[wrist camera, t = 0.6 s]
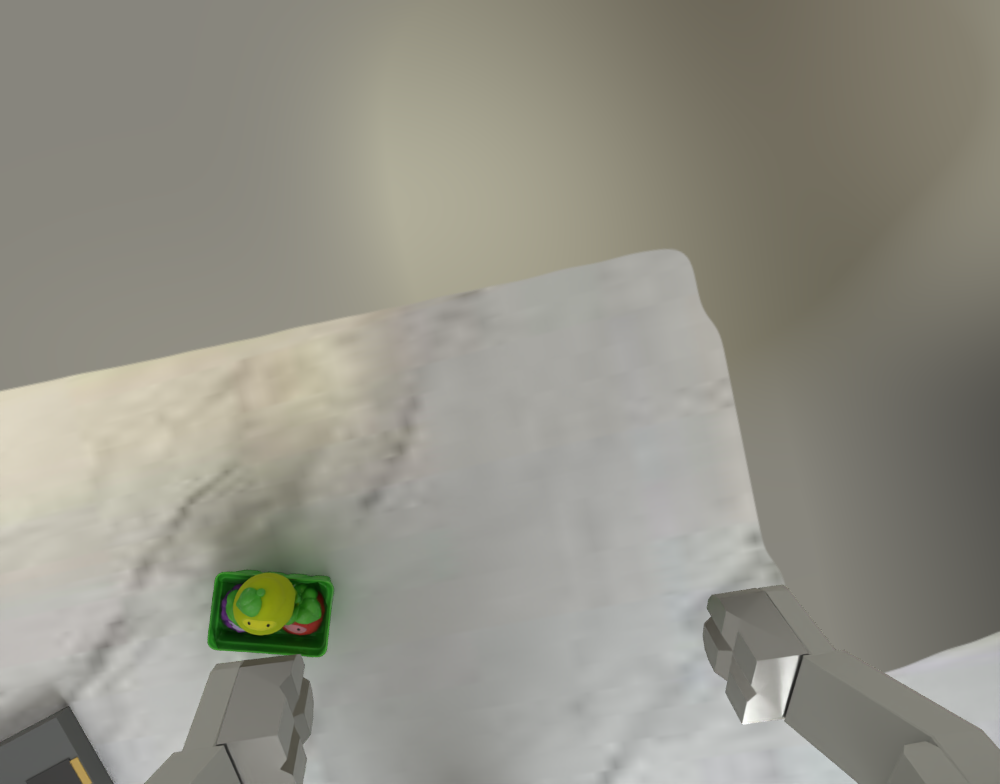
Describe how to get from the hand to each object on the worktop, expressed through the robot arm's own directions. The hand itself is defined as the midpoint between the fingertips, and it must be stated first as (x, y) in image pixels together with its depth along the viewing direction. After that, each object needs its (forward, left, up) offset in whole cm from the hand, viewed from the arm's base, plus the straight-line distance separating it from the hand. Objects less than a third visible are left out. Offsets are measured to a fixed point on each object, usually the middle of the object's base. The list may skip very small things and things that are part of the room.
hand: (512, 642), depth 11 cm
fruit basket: (-7, +23, -52) cm, 57 cm away
